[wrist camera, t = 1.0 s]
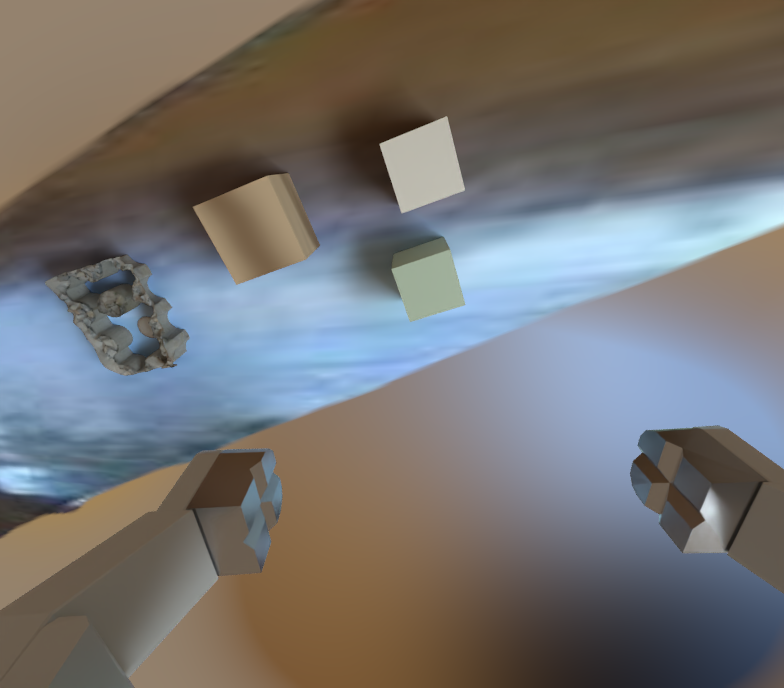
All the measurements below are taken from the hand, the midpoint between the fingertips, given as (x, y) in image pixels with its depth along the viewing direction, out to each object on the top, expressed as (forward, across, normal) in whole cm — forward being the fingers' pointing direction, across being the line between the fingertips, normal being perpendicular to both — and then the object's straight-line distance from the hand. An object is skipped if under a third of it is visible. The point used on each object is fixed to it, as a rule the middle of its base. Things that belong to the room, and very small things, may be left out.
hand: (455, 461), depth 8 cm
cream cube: (+25, -2, -7) cm, 26 cm away
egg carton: (+27, +26, +5) cm, 38 cm away
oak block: (+26, +11, -3) cm, 28 cm away
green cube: (+26, -2, +2) cm, 26 cm away
